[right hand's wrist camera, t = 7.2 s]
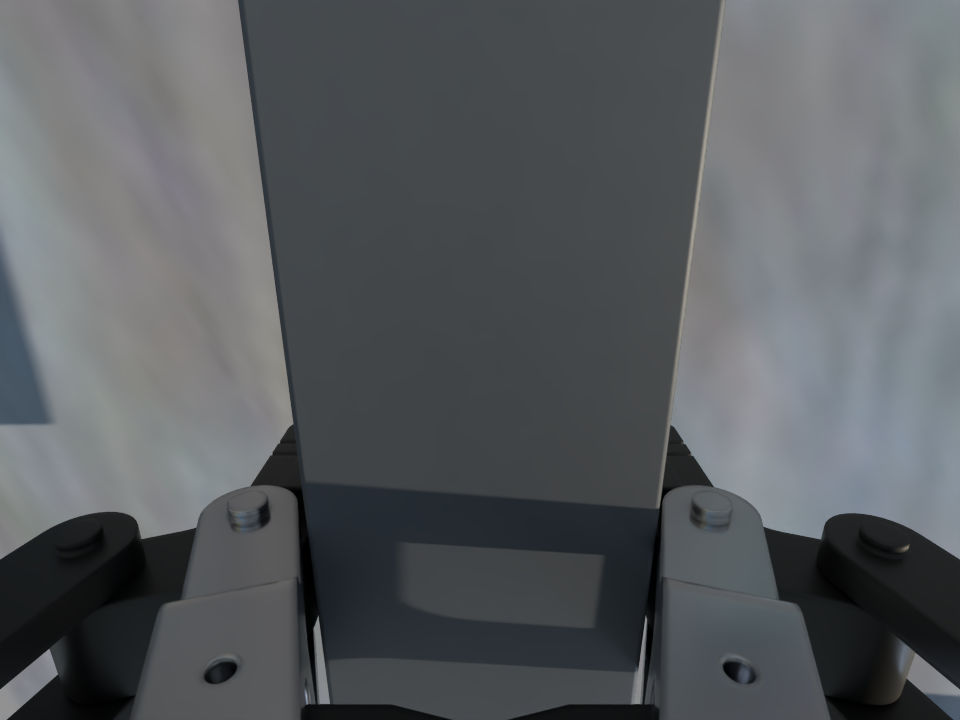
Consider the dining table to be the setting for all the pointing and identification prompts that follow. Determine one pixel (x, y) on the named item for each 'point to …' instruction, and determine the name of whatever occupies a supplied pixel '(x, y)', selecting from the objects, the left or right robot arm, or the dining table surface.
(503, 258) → the bar
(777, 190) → the dining table surface
